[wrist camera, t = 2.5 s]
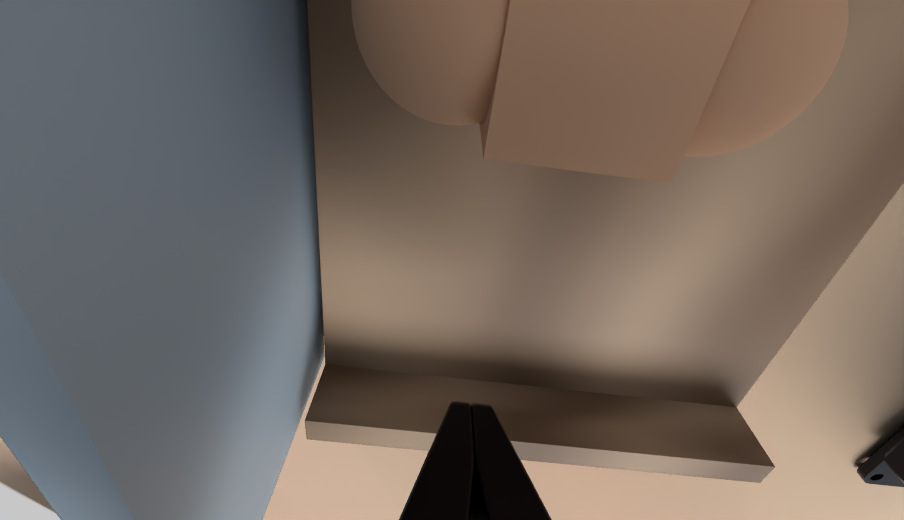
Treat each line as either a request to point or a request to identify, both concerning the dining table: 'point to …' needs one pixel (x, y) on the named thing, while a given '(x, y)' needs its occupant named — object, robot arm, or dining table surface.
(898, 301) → the dining table surface
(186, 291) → the tailgate
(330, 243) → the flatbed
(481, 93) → the cube with rounded ends
